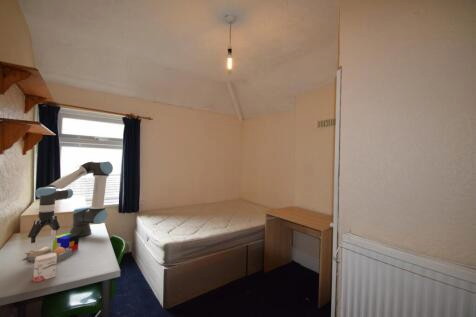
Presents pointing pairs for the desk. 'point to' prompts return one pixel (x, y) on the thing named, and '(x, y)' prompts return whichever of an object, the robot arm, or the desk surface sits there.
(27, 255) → the tee
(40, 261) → the ink box
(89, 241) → the desk surface
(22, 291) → the desk surface
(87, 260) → the desk surface
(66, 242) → the puzzle toy
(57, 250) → the ball
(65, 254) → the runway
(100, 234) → the desk surface
